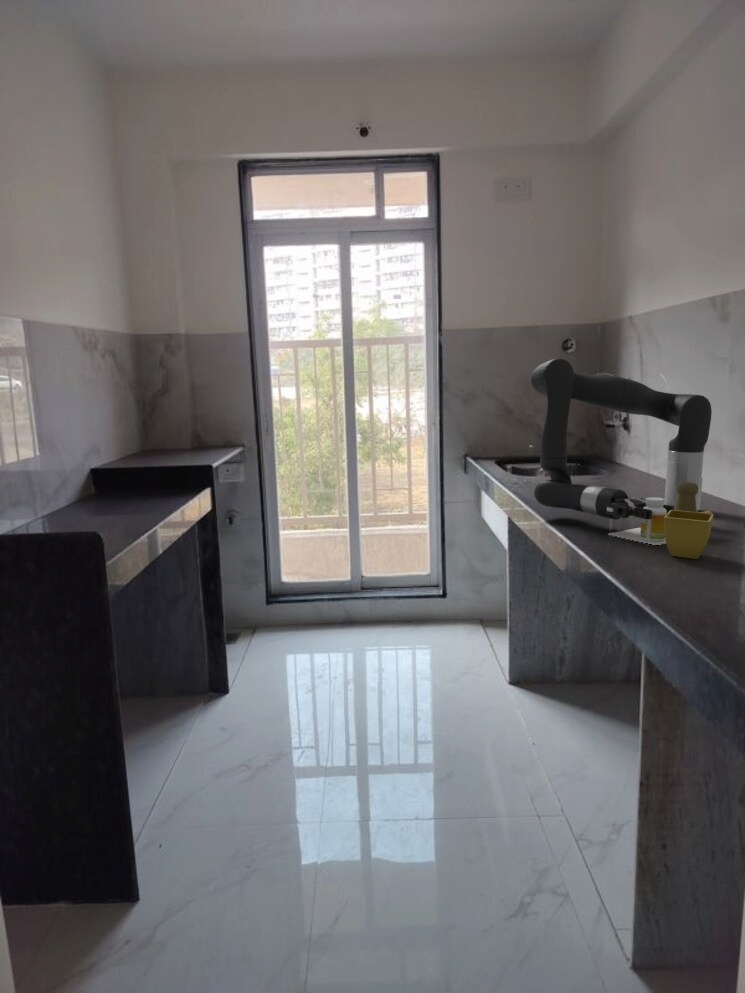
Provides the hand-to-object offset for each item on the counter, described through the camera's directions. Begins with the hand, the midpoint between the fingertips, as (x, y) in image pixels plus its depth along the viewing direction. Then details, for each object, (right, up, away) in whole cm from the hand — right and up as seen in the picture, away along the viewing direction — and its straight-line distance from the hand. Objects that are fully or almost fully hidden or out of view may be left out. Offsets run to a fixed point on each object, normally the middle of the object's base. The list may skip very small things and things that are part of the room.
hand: (662, 512), depth 152 cm
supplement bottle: (-1, -6, +3) cm, 7 cm away
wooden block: (+11, -6, +6) cm, 14 cm away
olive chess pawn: (+15, -4, +21) cm, 27 cm away
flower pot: (0, -9, -10) cm, 14 cm away
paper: (+2, -6, +8) cm, 10 cm away
